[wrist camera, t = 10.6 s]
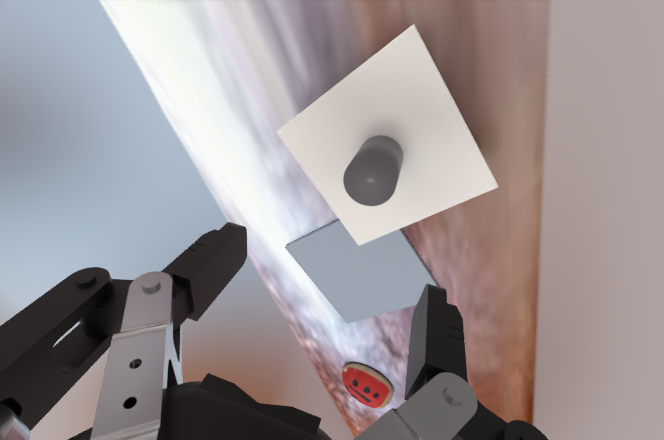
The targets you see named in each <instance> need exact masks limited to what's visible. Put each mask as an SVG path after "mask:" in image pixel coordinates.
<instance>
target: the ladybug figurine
mask: <svg viewBox="0 0 664 440" xmlns="http://www.w3.org/2000/svg"><path fill="white" fill-rule="evenodd" d="M342 378H343V382H344V385H345V387H346V389H347V390H348V392H349V393H350V394H351V395H352V396H353V397H354V398H355V399H357V400H358V401H359V402H361V403H363V404H365V405H367V406H369V407H372V408H376V409H380V408H383V407H385V406H386V405H387V404H388V403H389V402H390V401H391V399H392V397H393V389H392V386H391V385H390V383H389V382H388V381H387V380H386V379H385V378H384V377H383V376H382V375H380V374H379V373H378V372H376V371H374V370H373V369H371V368H369V367H366V366H364V365H360V364H347V365H346V366H344V368H343V370H342Z"/></svg>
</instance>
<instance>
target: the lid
mask: <svg viewBox="0 0 664 440" xmlns="http://www.w3.org/2000/svg"><path fill="white" fill-rule="evenodd" d="M276 133H277V134H278V135H279V137H280V138H281V140H282V141H283V142H284V144H285V145H286V146H287V148H288V149H289V151H290V152H291V153H292V155H293V156H294V157H295V159H296V160H297V162H298V163H299V164H300V166H301V167H302V168H303V170H304V171H305V173H306V174H307V175H308V177H309V178H310V180H311V181H312V182H313V184H314V185H315V186H316V188H317V189H318V191H319V192H320V193H321V195H322V196H323V197H324V199H325V200H326V202H327V203H328V204H329V206H330V207H331V208H332V210H333V211H334V213H335V214H336V215H337V217H338V218H339V220H340V221H341V222H342V224H343V225H344V226H345V228H346V229H347V231H348V232H349V233H350V235H351V236H352V237H353V239H354V240H355V242H356V243H357V244H358V246H360V245H362V244H365V243H367V242H369V241H372V240H374V239H376V238H379V237H381V236H384V235H386V234H388V233H391V232H393V231H395V230H398V229H400V228H403V227H405V226H407V225H410V224H412V223H414V222H417V221H419V220H421V219H424V218H426V217H429V216H431V215H433V214H436V213H438V212H440V211H443V210H445V209H448V208H450V207H452V206H455V205H457V204H459V203H462V202H464V201H466V200H469V199H471V198H474V197H476V196H478V195H481V194H483V193H485V192H488V191H490V190H493V189H495V188H497V187H498V184H497V182H496V180H495V178H494V176H493V174H492V172H491V170H490V169H489V167H488V165H487V163H486V161H485V159H484V157H483V155H482V153H481V151H480V149H479V147H478V145H477V144H476V142H475V140H474V138H473V136H472V134H471V132H470V130H469V128H468V126H467V124H466V122H465V120H464V119H463V117H462V115H461V113H460V111H459V109H458V107H457V105H456V103H455V101H454V99H453V97H452V95H451V94H450V92H449V90H448V88H447V86H446V84H445V82H444V80H443V78H442V76H441V74H440V72H439V70H438V69H437V67H436V65H435V63H434V61H433V59H432V57H431V55H430V53H429V51H428V49H427V47H426V45H425V44H424V42H423V40H422V38H421V36H420V34H419V32H418V30H417V28H416V26H415V24H413V25H412V26H410V27H409V28H408V29H407V30H405V31H404V32H403V33H401V34H400V35H399V36H398V37H396V38H395V39H394V40H393V41H391V42H390V43H389V44H387V45H386V46H385V47H384V48H382V49H381V50H380V51H378V52H377V53H376V54H375V55H373V56H372V57H371V58H370V59H368V60H367V61H366V62H364V63H363V64H362V65H361V66H359V67H358V68H357V69H355V70H354V71H353V72H352V73H350V74H349V75H348V76H346V77H345V78H344V79H343V80H341V81H340V82H339V83H338V84H336V85H335V86H334V87H332V88H331V89H330V90H329V91H327V92H326V93H325V94H323V95H322V96H321V97H320V98H318V99H317V100H316V101H315V102H313V103H312V104H311V105H309V106H308V107H307V108H306V109H304V110H303V111H302V112H300V113H299V114H298V115H297V116H295V117H294V118H293V119H291V120H290V121H289V122H288V123H286V124H285V125H284V126H283V127H281V128H280V129H279V130H277V131H276Z"/></svg>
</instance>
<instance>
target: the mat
mask: <svg viewBox="0 0 664 440" xmlns="http://www.w3.org/2000/svg"><path fill="white" fill-rule="evenodd" d="M285 248H286V249H287V250H288V252H289V253H290V254H291V255H292V257H293V258H294V259H295V260H296V261H297V263H298V264H299V265H300V266H301V268H302V269H303V270H304V271H305V272H306V274H307V275H308V276H309V277H310V279H311V280H312V281H313V282H314V284H315V285H316V286H317V287H318V288H319V290H320V291H321V292H322V293H323V295H324V296H325V297H326V298H327V300H328V301H329V302H330V303H331V304H332V306H333V307H334V308H335V309H336V311H337V312H338V313H339V314H340V315H341V317H342V318H343V319H344V320H345V322H346V323H351V322H355V321H358V320H362V319H366V318H369V317H373V316H377V315H380V314H384V313H388V312H391V311H395V310H399V309H402V308H406V307H410V306H413V305H417V303H418V301H419V299H420V296H421V294H422V292H423V290H424V288H425V286H426V284H431V285H434V286H437V287H439V285H438V284H437V282H436V281H435V279H434V278H433V276H432V274H431V273H430V271H429V270H428V268H427V267H426V265H425V264H424V262H423V261H422V259H421V258H420V256H419V255H418V253H417V252H416V250H415V249H414V247H413V246H412V244H411V243H410V241H409V240H408V238H407V237H406V235H405V234H404V232H403V231H402V229H401V228H400V229H398V230H395V231H393V232H391V233H388V234H386V235H384V236H381V237H379V238H376V239H374V240H372V241H369V242H367V243H365V244H362V245H360V246H358V244H357V243H356V242H355V240H354V239H353V237H352V236H351V235H350V233H349V232H348V231H347V229H346V228H345V226H344V225H343V224H342V222H341V221H340V220H339V219H338V220H336V221H334V222H332V223H330V224H328V225H326V226H324V227H322V228H320V229H318V230H316V231H314V232H312V233H310V234H308V235H306V236H304V237H302V238H300V239H297V240H295V241H293V242H291V243H289V244H287V245H286V247H285Z"/></svg>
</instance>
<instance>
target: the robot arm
mask: <svg viewBox="0 0 664 440" xmlns="http://www.w3.org/2000/svg"><path fill="white" fill-rule="evenodd" d="M246 257H247V230H246V227H244V226H241V225H237V224H234V223H231V222H228V223H226V224H225V225H224V226H223V227H222V228H221V229H220V230H219V231H218V230H212V231H210V232H208V233H206V234H204V235H202V236H201V237H200V238H199V239H198V240H197V241H195V243H193V244H192V245H191V246H190V247H189V248H188V250H187V249H186V250H185V251H184V252H183V253H182V254H181V255H179V257H177V258H176V259H175V260H174V261H173V262H172V263H171V264H169V265H168V266H167V267H166V268H165V269H164V270H162V271H161V272H149V273H146V274H143V275H141V276H140V277H138V278H136V279H135V280H119V279H111V277H110V274H109V272H108V271H107V270H106V269H103V268H99V267H93V268H86V269H82V270H79V271H77V272H75V273H73V274H71V275H70V276H68V277H67V278H66V279H64V280H63V281H62V282H60V283H59V284H57V285H56V286H55V287H53V288H52V289H51V290H50V291H48V292H46V293H45V294H44V295H42V296H41V297H40V298H38V299H37V300H36V301H34V302H33V303H31V304H30V305H29V306H28V307H26V308H25V309H23V310H22V311H20V312H19V313H18V314H16V315H15V316H14V317H12V318H11V319H10V320H8V321H7V322H5V323H4V324H3V325H1V326H0V440H29V438H30V431H31V430H32V429H33V428H34V426H35V425H36V424H37V423H38V422H39V421H40V420H41V419H42V418H43V417H44V416H45V415H46V414H47V413H48V412H49V411H50V410H51V409H52V407H53V406H54V405H55V404H56V403H57V402H58V401H59V400H60V399H61V398H62V397H63V396H64V395H65V394H66V393H67V391H69V389H70V388H71V387H72V386H73V385H74V384H75V383H76V382H77V381H78V380H79V379H80V378H81V377H82V376H83V375H84V374H85V373H86V372H87V371H88V369H89V368H90V367H91V366H92V365H93V364H94V363H95V362H96V361H97V360H98V359H99V358H100V357H101V356H102V355H103V354H104V353H105V351H106V350H107V349H108V348H109V347H110V350H109V354H108V359H107V364H106V368H105V373H104V378H103V382H102V387H101V392H100V396H99V401H98V406H97V410H96V415H95V420H94V424H93V427H92V428H90V429H88V430H86V431H84V432H82V433H80V434H78V435H76V436H74V437H72V438H70V439H68V440H331V438H330V437H329V436H328V435H327V434H326V433H325V432H324V431H323V430H321V429H320V428H319V425H320V421H321V418H319V417H317V416H314V415H312V414H309V413H307V412H304V411H301V410H299V409H296V408H294V407H290V406H279V405H270V404H260V403H258V402H256V401H255V400H254V399H253V398H251V397H250V396H249V395H248V394H246V393H245V392H244V391H243V390H241V389H240V388H239V387H238V386H237V385H235V384H234V383H231V382H229V381H226V380H224V379H221V378H219V377H216V376H214V375H211V374H209V373H208V374H207V375H206V377H205V378H204V380H203V381H201V382H200V381H197V382H187V383H183V379H182V323H183V322H184V321H185V320H186V319H187V318H189V319H192V320H195V321H198V319H199V318H200V317H201V316H202V315H203V313H204V312H205V311H206V310H207V308H208V307H209V306H210V305H211V303H212V302H213V301H214V300H215V299H216V297H217V296H218V295H219V294H220V293H221V291H222V290H223V289H224V288H225V287H226V285H227V284H228V283H229V282H230V281H231V279H232V278H233V277H234V276H235V274H236V273H237V272H238V271H239V270H240V268H241V267H242V266H243V264H244V262H245V260H246ZM77 322H80V324H79V325H78V326H77V327H76V328H74V329H73V330H72V331H71V332H70V333H69V334H68V335H67V336H65V337H64V338H63V339H62V340H61V341H60V342H59V343H58V344H57V345H55V346H54V344H55V343H56V341H57V340H58V339H59V338H60V337H61V336H63V335H64V334H65V333H66V332H67V331H68V330H69V329H71V328H72V327H73V326H74V325H75V324H76V323H77ZM53 346H54V347H53ZM404 400H407V401H406V402H404V403H403V404H402V405H401V406H400V407H398V408H397V409H394V408H393V409H391V410H389V411H388V412H386V413H385V414H384V415H383V416H381V417H380V418H379V419H378V420H377V421H375V422H374V423H373V424H372V425H371V426H369V427H368V428H367V429H366V430H365V431H363V432H362V433H361V434H360V435H359V436H357V437H356V438H355V439H354V440H548V439H547V438H546V436H545V435H544V434H542V432H541V431H540V430H538V429H537V428H536V427H534V426H533V425H531V424H529V423H527V422H524V421H521V420H514V421H511V422H509V423H507V422H505V421H504V420H502V419H501V418H500V417H498V416H497V415H495V414H494V413H492V412H491V411H489V410H488V409H487V408H485V407H484V406H483V405H482V404H481V403H480V402H479V401H478V400H477V398H476V395H475V393H474V391H473V389H472V388H471V386H470V385H469V384H468V379H467V368H466V355H465V343H464V332H463V318H462V316H461V314H460V312H459V310H458V308H457V306H454V305H451V304H448V303H447V292H446V289H444V288H441V287H437V286H434V285H431V284H426V286H425V288H424V290H423V292H422V294H421V296H420V299H419V301H418V303H417V305H416V308H415V310H414V314H413V318H412V324H411V334H410V345H409V356H408V366H407V377H406V387H405V398H404Z"/></svg>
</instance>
